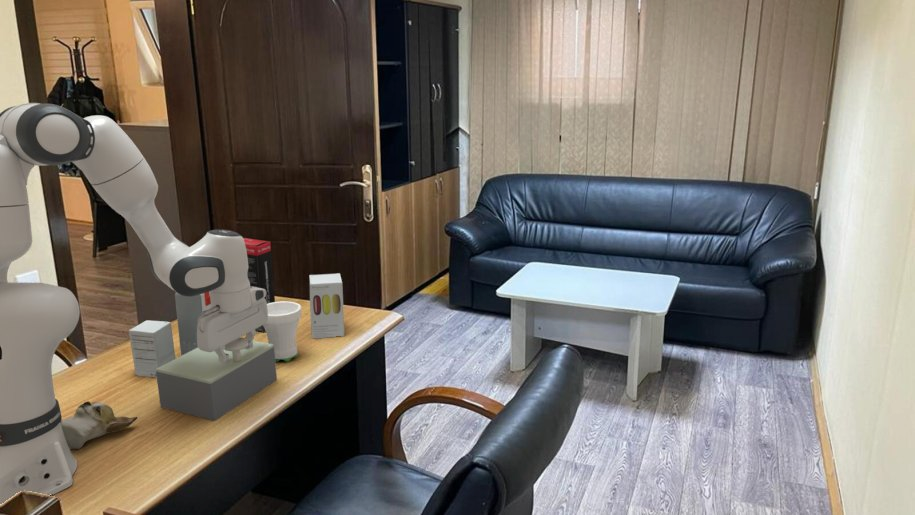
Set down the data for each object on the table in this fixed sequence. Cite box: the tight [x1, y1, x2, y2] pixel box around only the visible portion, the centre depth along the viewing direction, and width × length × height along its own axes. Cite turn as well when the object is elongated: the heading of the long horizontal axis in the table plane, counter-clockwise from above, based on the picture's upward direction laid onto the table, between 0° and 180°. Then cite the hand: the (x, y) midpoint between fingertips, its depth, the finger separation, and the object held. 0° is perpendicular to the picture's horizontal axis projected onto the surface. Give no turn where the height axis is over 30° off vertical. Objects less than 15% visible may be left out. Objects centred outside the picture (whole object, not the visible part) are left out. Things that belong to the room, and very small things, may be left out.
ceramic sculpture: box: [61, 401, 138, 450], centre depth 143 cm, size 11×9×15 cm
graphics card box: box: [243, 237, 276, 333], centre depth 202 cm, size 17×7×27 cm, turn 65°
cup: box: [263, 300, 302, 363], centre depth 181 cm, size 11×11×14 cm
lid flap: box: [156, 337, 274, 384], centre depth 160 cm, size 22×17×5 cm
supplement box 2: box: [308, 272, 345, 340], centre depth 198 cm, size 10×9×17 cm
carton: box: [156, 347, 278, 422], centre depth 162 cm, size 22×16×9 cm
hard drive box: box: [174, 291, 211, 356], centre depth 183 cm, size 16×8×20 cm, turn 168°
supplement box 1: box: [128, 319, 177, 379], centre depth 173 cm, size 7×7×13 cm
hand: (236, 354), depth 158 cm, fingers open, 7 cm apart
